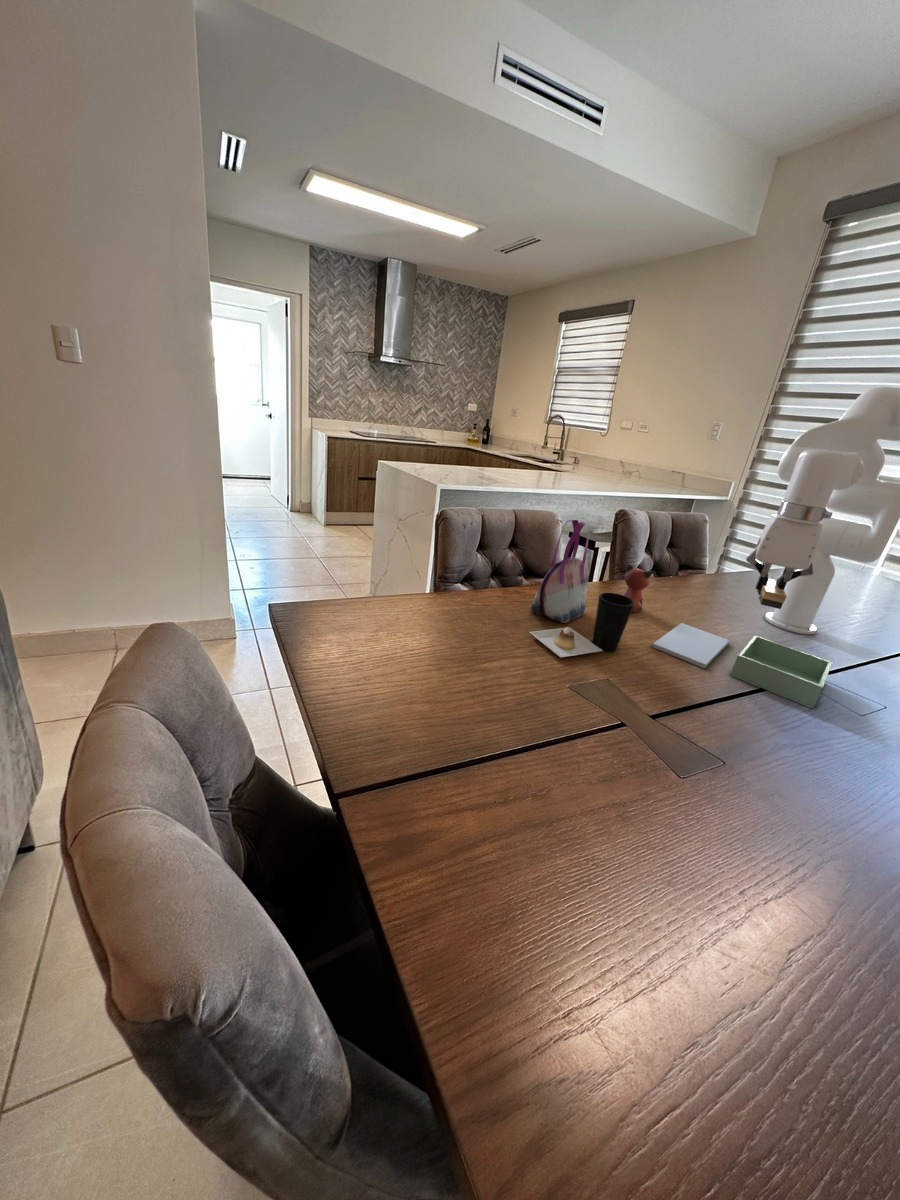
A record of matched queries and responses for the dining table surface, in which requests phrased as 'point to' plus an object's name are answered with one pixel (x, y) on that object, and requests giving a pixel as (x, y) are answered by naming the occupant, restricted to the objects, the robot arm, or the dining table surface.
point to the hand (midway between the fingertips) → (767, 594)
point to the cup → (611, 620)
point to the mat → (691, 644)
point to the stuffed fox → (636, 585)
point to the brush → (772, 595)
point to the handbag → (564, 583)
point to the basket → (782, 670)
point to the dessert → (565, 642)
